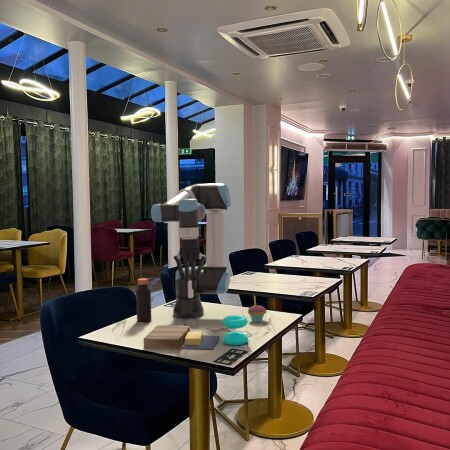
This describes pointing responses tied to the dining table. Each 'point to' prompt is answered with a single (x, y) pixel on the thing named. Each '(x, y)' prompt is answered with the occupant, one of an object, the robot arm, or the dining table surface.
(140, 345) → the dining table surface
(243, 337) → the donuts
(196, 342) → the yellow flat block
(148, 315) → the bottle
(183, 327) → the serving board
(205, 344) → the mat
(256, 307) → the cupcake
